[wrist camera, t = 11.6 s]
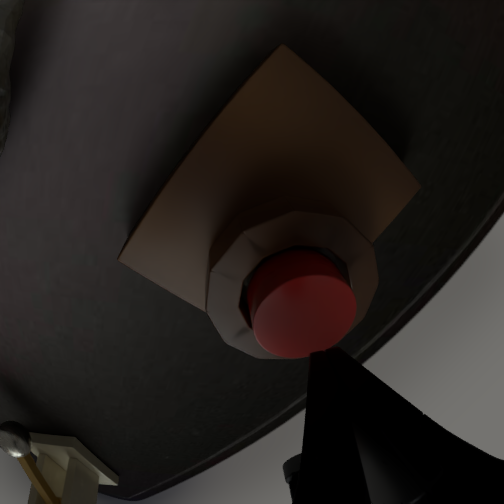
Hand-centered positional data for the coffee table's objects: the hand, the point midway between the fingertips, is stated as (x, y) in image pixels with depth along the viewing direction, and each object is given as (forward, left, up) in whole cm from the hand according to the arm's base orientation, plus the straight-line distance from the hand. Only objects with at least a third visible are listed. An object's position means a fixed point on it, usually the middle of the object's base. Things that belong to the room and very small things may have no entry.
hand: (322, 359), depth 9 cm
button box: (0, -2, -7) cm, 7 cm away
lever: (+22, +16, -3) cm, 27 cm away
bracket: (+22, +19, -7) cm, 30 cm away
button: (0, 0, -4) cm, 4 cm away
